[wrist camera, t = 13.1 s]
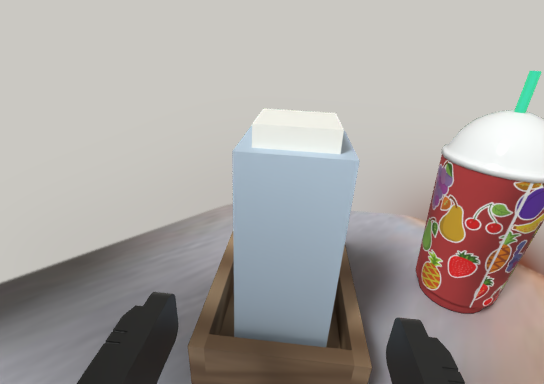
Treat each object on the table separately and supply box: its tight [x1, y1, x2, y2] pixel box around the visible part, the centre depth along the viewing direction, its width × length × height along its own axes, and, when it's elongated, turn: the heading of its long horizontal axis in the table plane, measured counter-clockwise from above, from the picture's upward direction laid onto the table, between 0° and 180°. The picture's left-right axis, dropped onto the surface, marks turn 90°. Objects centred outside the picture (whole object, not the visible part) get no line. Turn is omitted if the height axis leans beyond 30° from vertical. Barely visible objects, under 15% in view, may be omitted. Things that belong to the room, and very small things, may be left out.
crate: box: [188, 232, 372, 384], centre depth 26 cm, size 16×11×4 cm
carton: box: [233, 108, 359, 347], centre depth 20 cm, size 6×6×16 cm
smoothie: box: [416, 71, 544, 313], centre depth 25 cm, size 8×8×20 cm
